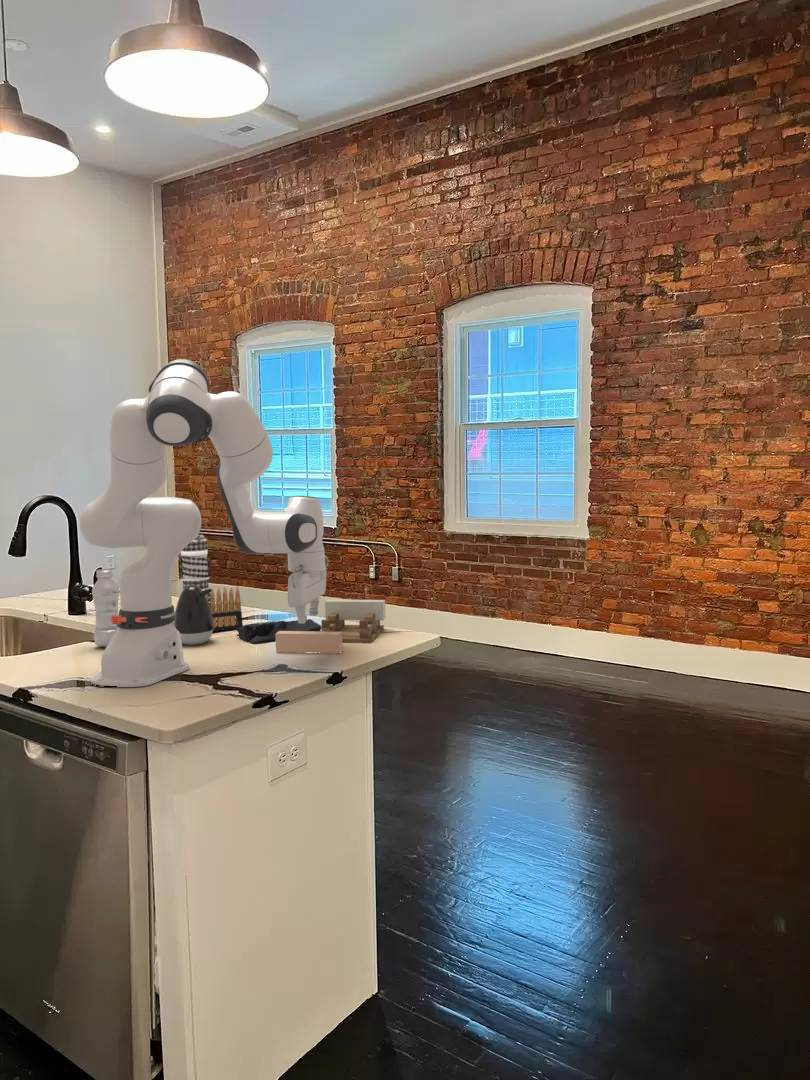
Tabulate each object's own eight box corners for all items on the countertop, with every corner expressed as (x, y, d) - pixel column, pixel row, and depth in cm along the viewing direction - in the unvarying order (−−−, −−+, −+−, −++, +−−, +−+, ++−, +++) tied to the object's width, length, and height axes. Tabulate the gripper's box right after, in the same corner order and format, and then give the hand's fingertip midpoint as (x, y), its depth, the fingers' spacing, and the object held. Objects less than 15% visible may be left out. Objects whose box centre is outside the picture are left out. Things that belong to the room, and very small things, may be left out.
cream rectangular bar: (385, 618, 216) (385, 600, 215) (383, 620, 213) (382, 601, 212) (328, 617, 219) (327, 599, 218) (325, 619, 216) (325, 601, 215)
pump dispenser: (205, 648, 201) (202, 588, 199) (167, 647, 203) (164, 588, 201) (222, 639, 211) (219, 582, 209) (185, 638, 213) (183, 582, 211)
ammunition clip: (241, 627, 225) (240, 585, 224) (243, 628, 224) (241, 586, 222) (203, 631, 221) (201, 588, 220) (204, 632, 219) (202, 589, 218)
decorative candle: (176, 617, 243) (172, 535, 241) (203, 612, 249) (200, 533, 247) (190, 621, 236) (186, 537, 234) (218, 616, 243) (214, 534, 240)
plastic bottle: (94, 645, 206) (90, 569, 205) (122, 642, 209) (117, 567, 207) (94, 650, 200) (89, 572, 199) (122, 648, 203) (118, 570, 201)
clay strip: (342, 651, 194) (342, 631, 194) (339, 654, 191) (339, 634, 191) (280, 650, 197) (279, 630, 197) (276, 653, 194) (275, 633, 194)
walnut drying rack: (370, 642, 202) (370, 621, 202) (317, 641, 205) (316, 620, 204) (384, 628, 219) (383, 609, 218) (334, 628, 221) (334, 608, 221)
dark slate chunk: (328, 636, 213) (327, 618, 213) (249, 646, 203) (248, 628, 202) (307, 626, 227) (306, 610, 226) (231, 636, 216) (230, 618, 216)
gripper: (306, 568, 181) (308, 628, 183) (330, 557, 201) (331, 611, 203) (279, 568, 182) (281, 627, 184) (306, 557, 202) (307, 611, 204)
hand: (308, 619), depth 193 cm, fingers open, 8 cm apart
